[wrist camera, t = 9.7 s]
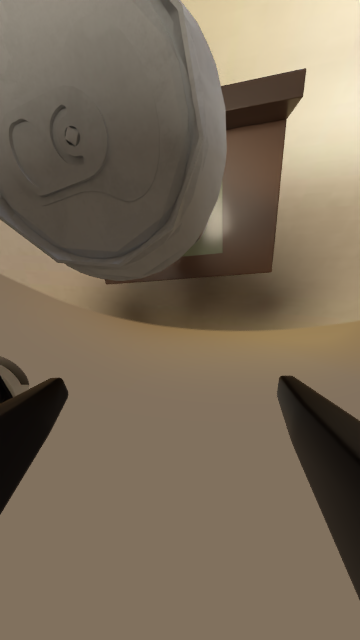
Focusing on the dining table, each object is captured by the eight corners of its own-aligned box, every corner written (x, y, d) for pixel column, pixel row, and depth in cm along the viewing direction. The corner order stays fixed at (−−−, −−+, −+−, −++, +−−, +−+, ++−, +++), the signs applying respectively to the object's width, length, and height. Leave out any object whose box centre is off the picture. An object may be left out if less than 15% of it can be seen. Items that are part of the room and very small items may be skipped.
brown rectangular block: (261, 266, 17) (281, 277, 13) (119, 277, 19) (93, 290, 15) (271, 124, 13) (306, 67, 9) (92, 156, 15) (46, 123, 11)
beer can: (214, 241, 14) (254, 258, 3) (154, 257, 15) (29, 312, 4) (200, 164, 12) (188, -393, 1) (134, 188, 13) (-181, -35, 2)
